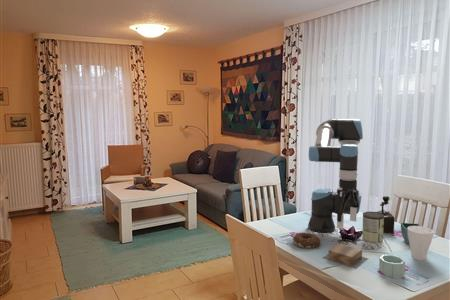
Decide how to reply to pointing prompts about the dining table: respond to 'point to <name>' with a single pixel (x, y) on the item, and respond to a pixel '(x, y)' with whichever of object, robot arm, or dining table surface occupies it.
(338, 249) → the board
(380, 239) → the coffee can
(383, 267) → the bowl
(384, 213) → the coffee grinder
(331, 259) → the mat
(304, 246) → the donut
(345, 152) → the robot arm
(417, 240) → the cup
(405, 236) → the flower pot
